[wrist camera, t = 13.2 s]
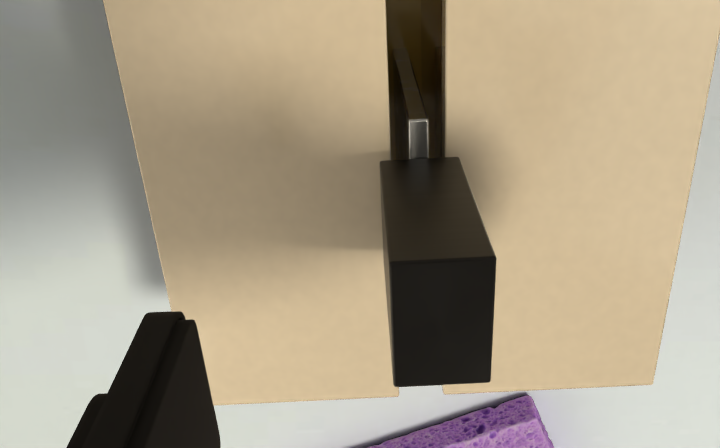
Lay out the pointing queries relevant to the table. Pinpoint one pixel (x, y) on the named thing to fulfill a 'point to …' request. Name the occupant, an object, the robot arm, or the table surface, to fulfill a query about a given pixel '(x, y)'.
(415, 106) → the knife
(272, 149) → the cake
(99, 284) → the table surface
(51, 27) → the table surface
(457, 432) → the sponge
